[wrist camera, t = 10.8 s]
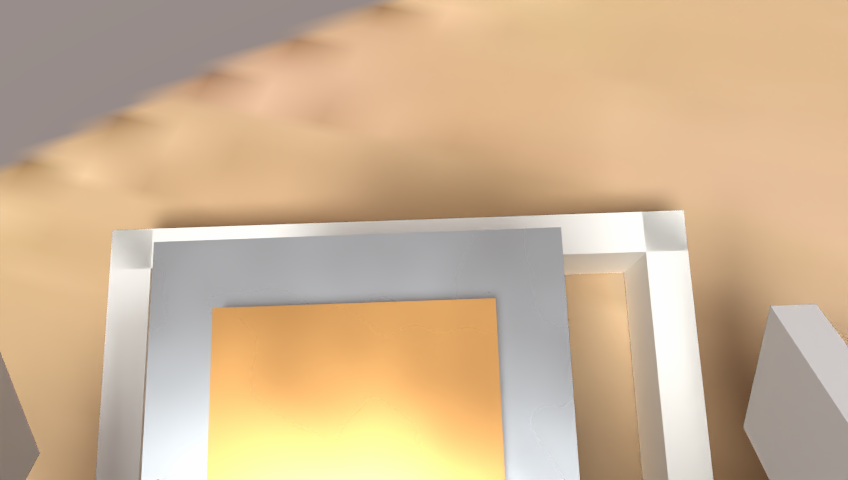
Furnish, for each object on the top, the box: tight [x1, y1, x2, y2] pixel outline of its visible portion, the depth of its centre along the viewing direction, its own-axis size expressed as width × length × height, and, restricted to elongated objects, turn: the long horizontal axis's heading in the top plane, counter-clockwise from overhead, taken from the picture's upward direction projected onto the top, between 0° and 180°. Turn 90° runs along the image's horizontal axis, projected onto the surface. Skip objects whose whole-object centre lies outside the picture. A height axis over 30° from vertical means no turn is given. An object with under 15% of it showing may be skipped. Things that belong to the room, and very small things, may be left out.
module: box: [141, 227, 580, 480], centre depth 15 cm, size 6×6×11 cm
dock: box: [95, 210, 713, 480], centre depth 20 cm, size 14×10×2 cm
